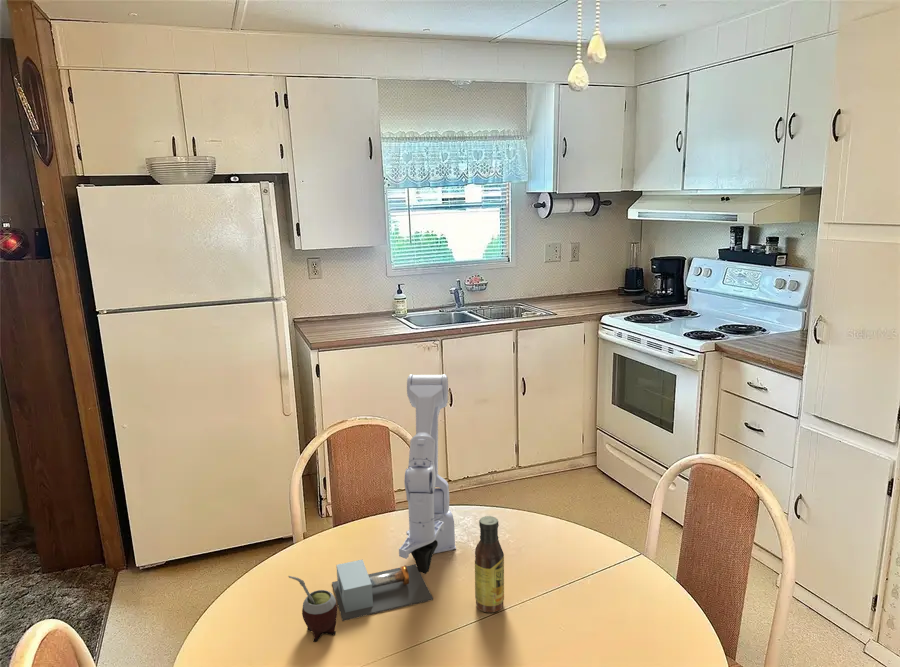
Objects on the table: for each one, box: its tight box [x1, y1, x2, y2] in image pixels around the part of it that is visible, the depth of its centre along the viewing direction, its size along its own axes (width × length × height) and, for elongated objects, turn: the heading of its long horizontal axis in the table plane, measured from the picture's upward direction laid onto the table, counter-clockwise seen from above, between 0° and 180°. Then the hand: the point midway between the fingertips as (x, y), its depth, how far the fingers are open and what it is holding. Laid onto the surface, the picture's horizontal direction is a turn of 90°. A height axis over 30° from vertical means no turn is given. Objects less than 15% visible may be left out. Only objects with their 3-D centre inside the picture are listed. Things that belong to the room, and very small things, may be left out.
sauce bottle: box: [474, 515, 505, 614], centre depth 135 cm, size 6×6×20 cm
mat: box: [331, 563, 434, 622], centre depth 143 cm, size 20×14×1 cm
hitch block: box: [335, 559, 373, 613], centre depth 140 cm, size 6×10×6 cm, turn 19°
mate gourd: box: [288, 575, 339, 643], centre depth 128 cm, size 8×8×15 cm
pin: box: [369, 565, 409, 588], centre depth 142 cm, size 11×4×4 cm, turn 109°
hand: (423, 571), depth 145 cm, fingers closed
